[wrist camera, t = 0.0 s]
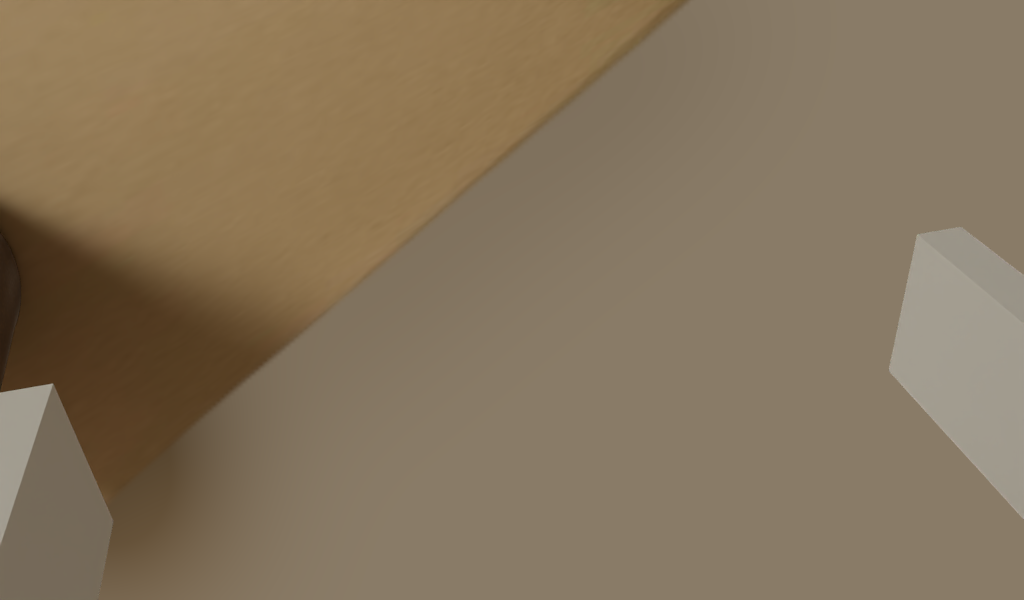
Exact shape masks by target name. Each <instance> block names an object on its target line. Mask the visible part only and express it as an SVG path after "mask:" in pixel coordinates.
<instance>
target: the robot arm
mask: <svg viewBox="0 0 1024 600" xmlns="http://www.w3.org/2000/svg"><path fill="white" fill-rule="evenodd" d="M889 372H890V373H891V374H892V375H893V376H894V377H895V378H896V379H897V381H899V383H900V384H901V385H902V386H903V387H904V388H905V389H906V390H907V392H908V393H909V394H910V395H911V396H912V397H913V398H914V399H915V400H916V401H917V403H918V404H919V405H920V406H921V407H922V408H923V409H924V410H925V411H926V412H927V413H928V415H929V416H930V417H931V418H932V419H933V420H934V421H935V422H936V423H937V424H938V426H939V427H940V428H941V429H942V430H943V431H944V432H945V433H946V434H947V435H948V437H950V439H951V440H952V441H953V442H954V443H955V444H956V445H957V447H958V448H959V449H960V450H961V451H962V452H963V453H964V454H965V455H966V456H967V458H968V459H969V460H970V461H971V462H972V463H973V464H974V465H975V466H976V467H977V469H978V470H979V471H980V472H981V473H982V474H983V475H984V476H985V477H986V478H987V480H989V482H990V483H991V484H992V485H993V486H994V487H995V488H996V489H997V490H998V491H999V493H1000V494H1001V495H1002V496H1003V497H1004V498H1005V499H1006V500H1007V502H1009V504H1010V505H1011V506H1012V507H1013V508H1014V509H1015V510H1016V511H1017V513H1019V515H1020V516H1021V517H1022V518H1023V519H1024V275H1023V274H1021V273H1020V272H1019V271H1017V270H1016V269H1015V268H1013V267H1012V266H1011V265H1010V264H1008V263H1007V262H1006V261H1005V260H1003V259H1002V258H1001V257H999V256H998V255H997V254H996V253H994V252H993V251H992V250H990V249H989V248H988V247H987V246H985V245H984V244H982V243H981V242H980V241H979V240H977V239H976V238H975V237H974V236H972V235H971V234H969V233H968V232H967V231H966V230H965V229H963V228H962V227H958V228H952V229H946V230H940V231H934V232H929V233H923V234H918V235H917V239H916V243H915V248H914V253H913V258H912V262H911V267H910V272H909V276H908V281H907V286H906V291H905V296H904V300H903V305H902V310H901V315H900V319H899V324H898V329H897V334H896V338H895V343H894V348H893V353H892V357H891V362H890V367H889ZM112 526H113V519H112V517H111V515H110V512H109V510H108V508H107V505H106V503H105V501H104V498H103V496H102V494H101V492H100V489H99V487H98V485H97V482H96V480H95V478H94V476H93V473H92V471H91V469H90V466H89V464H88V462H87V460H86V457H85V455H84V453H83V450H82V448H81V446H80V444H79V441H78V439H77V437H76V434H75V432H74V430H73V428H72V425H71V423H70V421H69V418H68V416H67V414H66V412H65V409H64V407H63V405H62V402H61V400H60V398H59V396H58V393H57V391H56V389H55V386H54V384H47V385H42V386H36V387H30V388H24V389H18V390H13V391H7V392H1V393H0V600H98V596H99V591H100V587H101V582H102V576H103V572H104V567H105V562H106V556H107V552H108V546H109V541H110V536H111V531H112Z"/></svg>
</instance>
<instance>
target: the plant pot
mask: <svg viewBox="0 0 1024 600" xmlns="http://www.w3.org/2000/svg"><path fill="white" fill-rule="evenodd" d="M20 304H21V284H20V277H19V272H18V268H17V264H16V261H15V259H14V256H13V254H12V251H11V250H10V248H9V246H8V244H7V242H6V240H5V239H4V237H3V236H2V234H1V233H0V390H1V385H2V381H3V377H4V373H5V368H6V364H7V360H8V355H9V351H10V346H11V342H12V337H13V333H14V329H15V326H16V323H17V320H18V316H19V311H20Z"/></svg>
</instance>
